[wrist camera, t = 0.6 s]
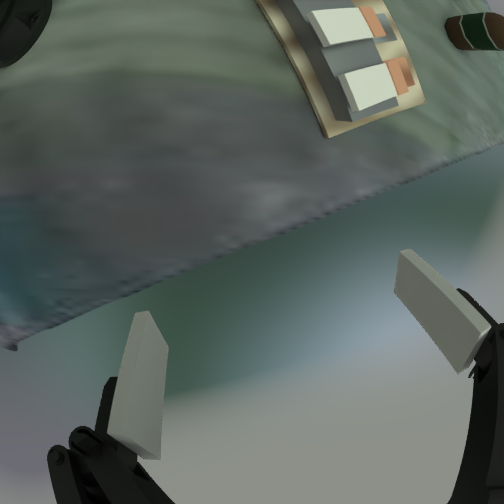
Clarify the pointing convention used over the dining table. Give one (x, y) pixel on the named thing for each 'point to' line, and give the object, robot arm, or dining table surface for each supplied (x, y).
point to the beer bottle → (477, 31)
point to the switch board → (388, 50)
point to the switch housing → (333, 56)
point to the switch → (373, 84)
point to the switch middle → (345, 25)
